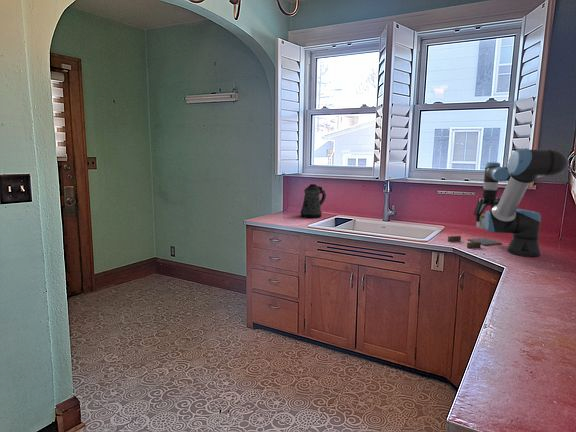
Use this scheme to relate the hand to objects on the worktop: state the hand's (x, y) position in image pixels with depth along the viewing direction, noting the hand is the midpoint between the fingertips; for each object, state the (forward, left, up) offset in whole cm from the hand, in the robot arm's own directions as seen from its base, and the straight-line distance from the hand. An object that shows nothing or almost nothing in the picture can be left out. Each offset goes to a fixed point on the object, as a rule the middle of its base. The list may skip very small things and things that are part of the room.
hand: (486, 226), depth 234 cm
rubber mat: (0, 0, -10) cm, 10 cm away
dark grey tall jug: (+103, +69, -10) cm, 124 cm away
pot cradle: (-1, +16, -10) cm, 19 cm away
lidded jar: (0, 0, -1) cm, 1 cm away
